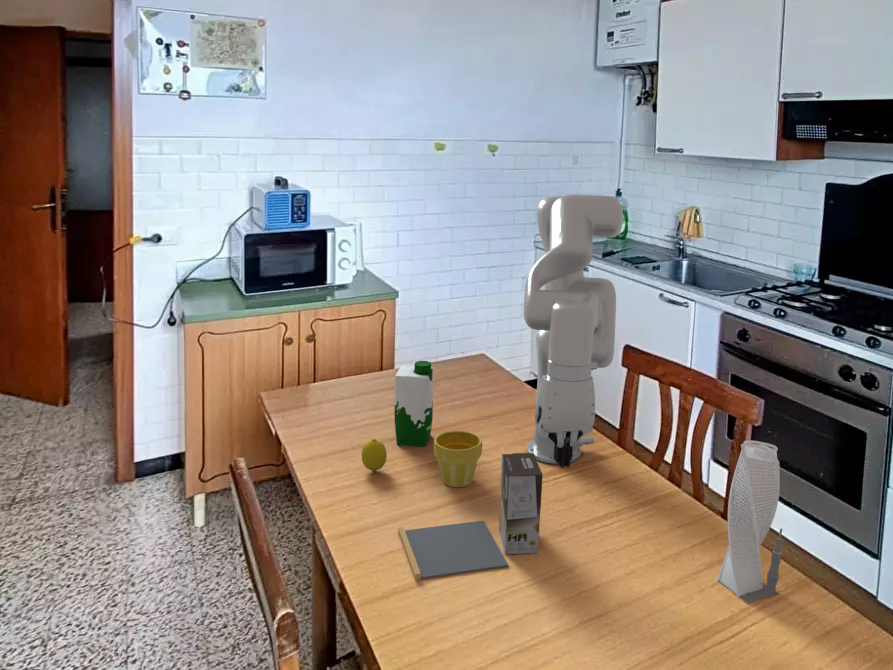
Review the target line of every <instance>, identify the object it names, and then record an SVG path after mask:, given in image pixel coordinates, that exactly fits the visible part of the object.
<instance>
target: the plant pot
mask: <svg viewBox="0 0 893 670" xmlns="http://www.w3.org/2000/svg"><path fill="white" fill-rule="evenodd" d="M482 451H483V440H482V437H480V436H479V435H478V434H476V433H474V432H471V431H466V430H448V431H443V432H440V433H439V434H437V435H436V436H435V437H434V439H433V454H434V457H435V458H436V459H437V462H438V467H439V472H440V475H441V480H442V482H443V484H445V485H446V486H449V487H452V488H464V487H468V486H470V485H471V484H472V483H473V480H474V476H475V473H476V469H477V464H478V460H479V459H480V458H481V457H482Z"/></svg>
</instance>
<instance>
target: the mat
mask: <svg viewBox="0 0 893 670" xmlns="http://www.w3.org/2000/svg"><path fill="white" fill-rule="evenodd" d="M397 529H398V532H397V533H398V536H399V540H400V541H401V546H402V547H403V550H404V553H405V556H406V559H407V561H408V562H407V563H409V566H410V570H411V572H412V576H413V578H414V581H417V580H418V581H419V580H425V579H432V578H439V577H446V576H451V575H452V576H453V575H458V574H459V575H460V574H467V573H474V572H475V573H476V572H480V571H481V572H482V571H488V570H494V569H501V568H508V567H509V564H508V561H507V559H506V558H505V556H504V554H503V552H502V551H501V549H500V548H499V546H498V544H497V542H496V541H495V538H494V537H493V536H492V533H491V532H490V530H489V528H488V526H487V524H486V522H485V521H484V520H477V521H476V520H475V521H467V522H462V523H452V524H444V525H436V526H428V527H423V528H422V527H421V528H413V529H405V527H404V526H399V527H397Z"/></svg>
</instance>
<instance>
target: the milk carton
mask: <svg viewBox="0 0 893 670" xmlns="http://www.w3.org/2000/svg"><path fill="white" fill-rule="evenodd" d="M433 399H434V367H433V366H432V362H430V361H428V360H418V361H416V362H414V364H411V365H405V364H404V365H403V364H402V365H400V367H399V369H398V371H397V372H396V374H395V376H394V430H395V437H396V439H395V440H396V445H397V446H408V447H422V448H426V447H427V445H428V442H429V439H430V437H431V432H432V426H433V411H434V409H433V408H434V407H433V405H434V404H433V402H434V400H433Z"/></svg>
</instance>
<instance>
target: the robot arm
mask: <svg viewBox="0 0 893 670" xmlns="http://www.w3.org/2000/svg"><path fill="white" fill-rule="evenodd" d="M622 208H623V207H622V204H621V202H620V200H619V199H618V198H617V197H615V196H612V195H602V194H601V195H599V194H598V195H597V194H596V195H594V194H593V195H592V194H567V195H561V196H550V197H546V198H543V199H542V200H540V202H539V204H538V206H537V210H536V211H537V212H536V217H537V218H536V220H537V221H536V222H537V227H538V232H539V235H540V238H541V239H540V240H541V242H542V245H543V247H544V248H543V249H544V252H545V254H543V255H542V256H541V257H540V258H539V259H538V260H537V261H536V262H535V263H534V265H533V266H532V267H531V269H530V270H529V272H528V274H527V276H526V280H525V285H524V297H523V318H524V321H525V324H526V325H527V327H529V328H530V329H532V330H534V331H537V333H536V336H535V351H536V359H537V384H536V385H537V386H536V403H535V412H534V413H535V414H534V434H533V435H534V436H533V439H532V440H531V441H529V442H528V443H527V446H526V451H527V452H526V453H534V455H535V458H536V460H537V461H539V462H542V463H546V464H553V465H554V464H555V465H559V467H560V468H565V467H566V468H569V467H570V466H571V463H572V462H575V461H577V460H578V459H579V458H580V456H581V447H582V446H583V445H585V446H587V445H594V443H595V438H594V436H593V435H590V436H587V435H589V434H591V433H592V432H593V431H594V430H593V426H594V424H595V420H596V419H595V417H596V416H595V415H596V394H595V393H596V392H595V391H596V390H595V386H594V385H595V383H594V379H593V376H591V375H592V371H593V370H598V369H604V368H608V367H609V366H610V365H611V364H612V363H613V360H614V355H615V342H616V341H615V339H616V334H615V333H616V318H617V317H616V316H617V315H616V314H617V297H616V296H617V294H616V288H615V285H614V284H613V282H612V281H611V280H609V279H607V278H603V277H588V276H587V277H586V276H585V275H584V269H585V268H586V267H588V266H589V265H590V264H591V262H592V259H593V256H594V255H593V254H594V250H593V249H594V246H593V242H594V241H593V238H595V237H596V238H616V237H617V236H618V235H619V234H620V232H621V230H622V227H623V226H622V225H623V218H624V216H623V215H624V213H623V209H622ZM543 286H544V289H541V288H543ZM585 435H586V436H585Z"/></svg>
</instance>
